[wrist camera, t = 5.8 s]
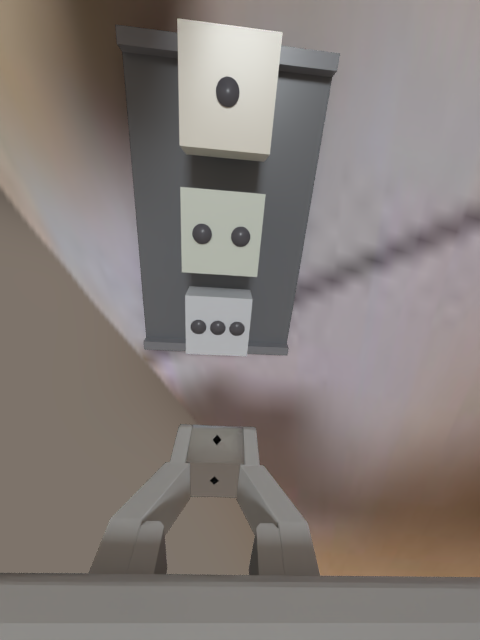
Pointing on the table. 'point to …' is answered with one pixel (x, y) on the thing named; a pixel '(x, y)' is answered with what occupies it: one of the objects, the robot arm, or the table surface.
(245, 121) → the key one
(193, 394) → the table surface
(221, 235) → the key two
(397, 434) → the table surface
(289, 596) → the robot arm
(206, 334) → the key three
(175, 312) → the keypad board
